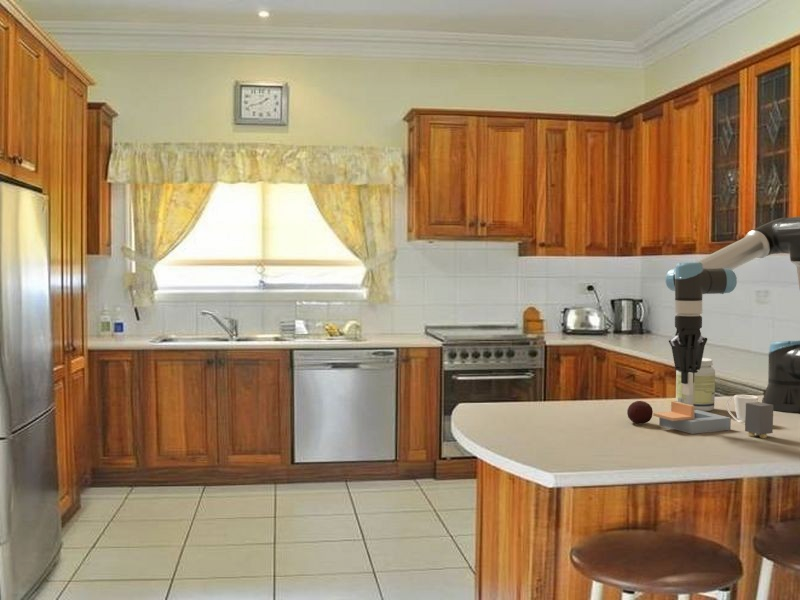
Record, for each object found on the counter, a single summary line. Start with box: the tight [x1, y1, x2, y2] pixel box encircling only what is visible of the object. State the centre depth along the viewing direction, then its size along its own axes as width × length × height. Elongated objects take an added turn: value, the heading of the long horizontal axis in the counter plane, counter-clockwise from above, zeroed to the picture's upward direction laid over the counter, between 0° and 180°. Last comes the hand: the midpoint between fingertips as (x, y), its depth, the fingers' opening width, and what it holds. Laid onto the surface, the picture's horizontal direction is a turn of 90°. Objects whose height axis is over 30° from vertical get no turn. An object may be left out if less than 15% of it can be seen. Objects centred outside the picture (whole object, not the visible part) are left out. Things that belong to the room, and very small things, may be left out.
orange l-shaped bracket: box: [652, 400, 695, 421], centre depth 225 cm, size 8×8×4 cm
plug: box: [744, 401, 774, 439], centre depth 217 cm, size 5×5×9 cm
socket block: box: [659, 410, 732, 435], centre depth 228 cm, size 15×13×4 cm
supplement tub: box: [675, 357, 716, 412], centre depth 257 cm, size 12×12×17 cm
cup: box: [726, 394, 759, 424], centre depth 237 cm, size 7×10×8 cm
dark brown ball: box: [626, 400, 654, 425], centre depth 232 cm, size 7×8×7 cm
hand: (687, 394), depth 227 cm, fingers closed
